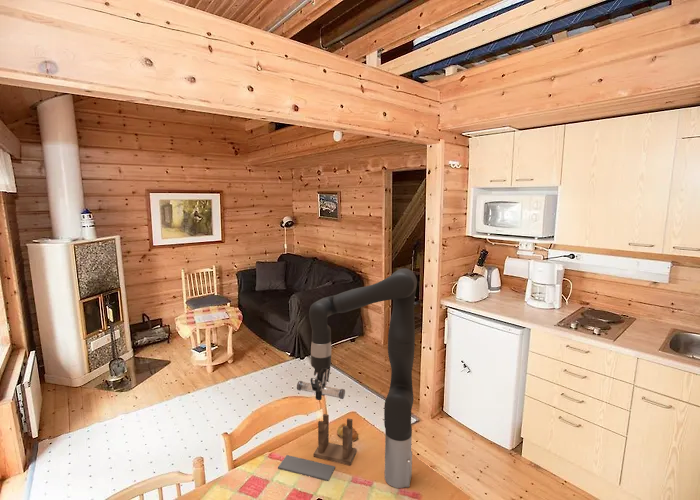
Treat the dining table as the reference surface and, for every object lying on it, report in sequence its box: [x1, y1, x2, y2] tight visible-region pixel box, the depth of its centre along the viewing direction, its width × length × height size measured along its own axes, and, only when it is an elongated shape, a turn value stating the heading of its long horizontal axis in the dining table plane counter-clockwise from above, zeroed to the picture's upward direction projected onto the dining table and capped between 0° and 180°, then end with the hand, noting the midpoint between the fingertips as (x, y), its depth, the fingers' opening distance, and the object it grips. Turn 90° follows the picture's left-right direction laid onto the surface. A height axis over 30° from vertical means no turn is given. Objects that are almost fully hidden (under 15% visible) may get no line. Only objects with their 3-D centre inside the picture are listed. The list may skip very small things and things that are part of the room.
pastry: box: [336, 423, 359, 442], centre depth 151 cm, size 9×7×4 cm
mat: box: [277, 454, 336, 482], centre depth 131 cm, size 20×7×1 cm, turn 72°
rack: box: [313, 413, 358, 466], centre depth 138 cm, size 15×8×14 cm, turn 72°
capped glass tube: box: [296, 380, 346, 400], centre depth 132 cm, size 18×3×3 cm, turn 71°
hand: (320, 397), depth 133 cm, fingers closed on capped glass tube, 3 cm apart
